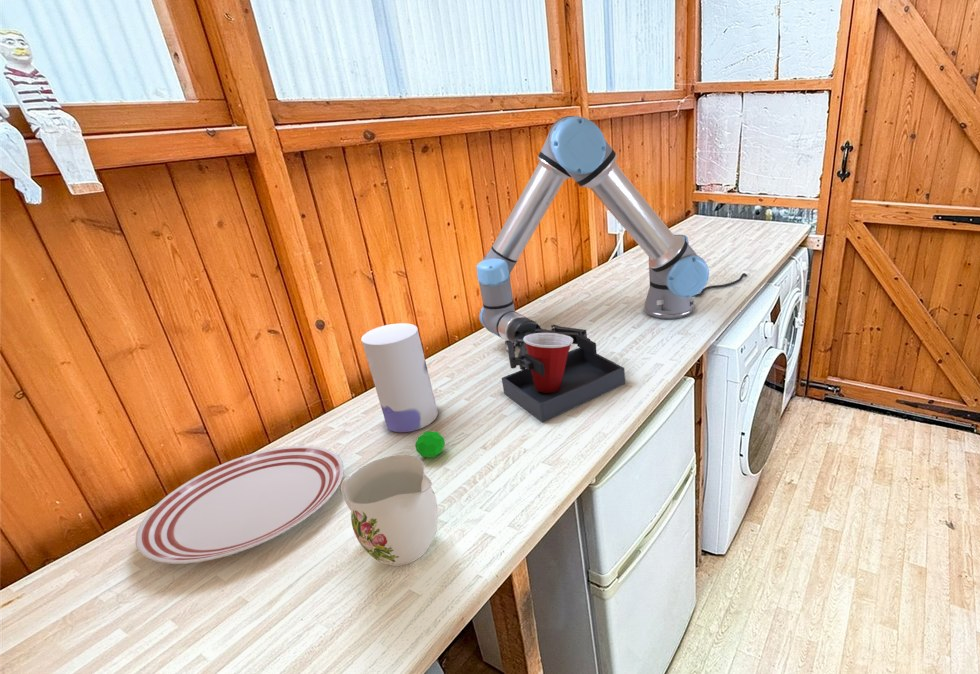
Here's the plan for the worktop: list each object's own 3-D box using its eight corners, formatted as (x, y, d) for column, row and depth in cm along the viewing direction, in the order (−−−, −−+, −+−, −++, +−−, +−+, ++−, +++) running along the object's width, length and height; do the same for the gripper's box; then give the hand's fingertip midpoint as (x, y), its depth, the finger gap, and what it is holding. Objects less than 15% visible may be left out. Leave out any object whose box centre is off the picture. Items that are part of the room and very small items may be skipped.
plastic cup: (577, 380, 122) (578, 332, 118) (565, 400, 111) (566, 348, 107) (532, 375, 122) (532, 327, 119) (516, 394, 112) (515, 342, 108)
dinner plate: (294, 441, 103) (289, 427, 101) (381, 485, 90) (376, 470, 89) (115, 535, 82) (104, 519, 80) (194, 610, 69) (184, 593, 67)
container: (448, 410, 111) (428, 325, 103) (415, 436, 103) (390, 346, 95) (410, 403, 115) (388, 320, 106) (375, 428, 106) (348, 340, 98)
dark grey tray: (584, 360, 130) (582, 346, 129) (625, 383, 119) (624, 367, 118) (504, 393, 117) (501, 377, 115) (542, 422, 106) (539, 405, 104)
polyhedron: (430, 466, 94) (425, 444, 92) (412, 458, 97) (407, 437, 95) (452, 450, 98) (447, 430, 96) (434, 443, 101) (429, 423, 99)
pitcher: (386, 506, 85) (364, 437, 80) (474, 535, 79) (457, 463, 73) (327, 556, 76) (296, 483, 70) (420, 594, 70) (396, 516, 64)
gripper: (564, 330, 136) (615, 355, 121) (475, 362, 121) (521, 395, 106) (561, 303, 133) (613, 326, 118) (469, 333, 118) (516, 363, 103)
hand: (569, 359), depth 112 cm, fingers open, 13 cm apart
